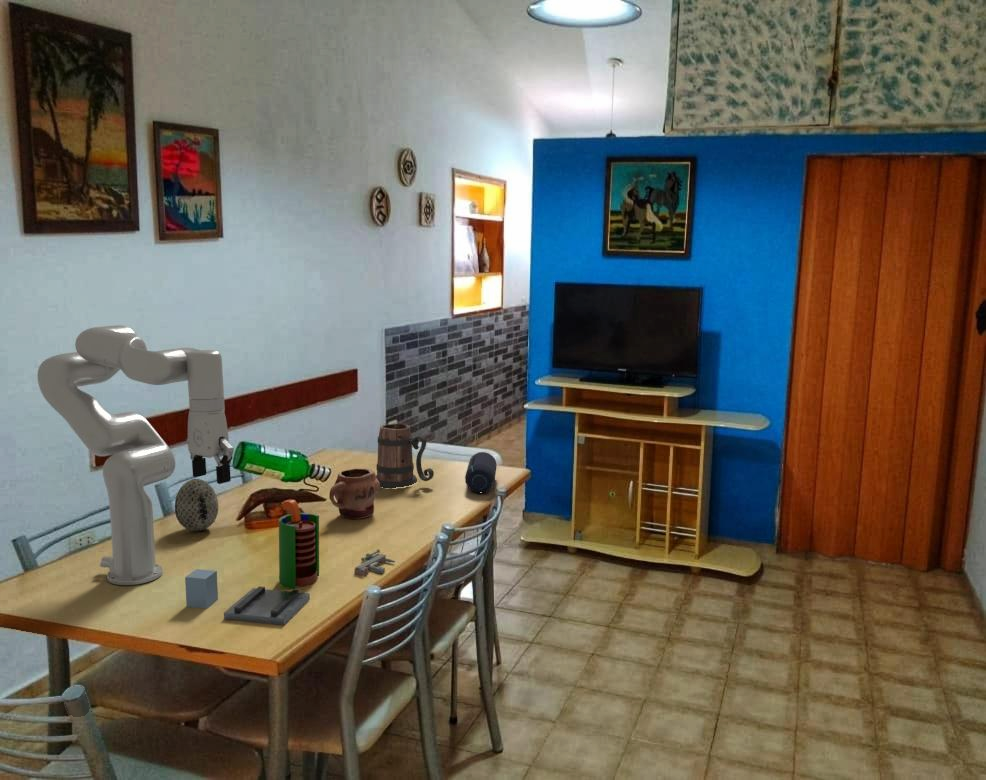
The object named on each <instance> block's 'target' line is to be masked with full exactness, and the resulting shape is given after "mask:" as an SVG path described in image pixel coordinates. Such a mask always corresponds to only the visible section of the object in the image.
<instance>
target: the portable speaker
mask: <svg viewBox="0 0 986 780" xmlns="http://www.w3.org/2000/svg"><path fill="white" fill-rule="evenodd" d="M496 473H497V461H496V459H495V457H494V456H493V455H491V454H490V453H489V452H486V451H479V452H476V453H475V454H473V455H472V456H471V458H470V459H469V462H468V465H467V468H466V471H465V476H464V480H465V484H466V487H468V489H469V490H470V491H472V492H473V491H474V492H473V493H476V492H485V493H487V492H489V491H490V490H491V489H492V488H493V486H494V485H495V479H496Z"/></svg>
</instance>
